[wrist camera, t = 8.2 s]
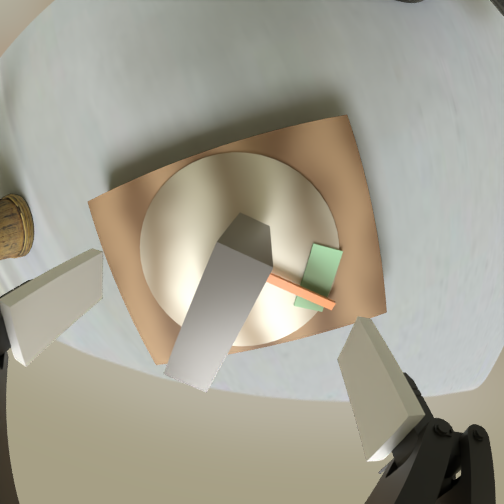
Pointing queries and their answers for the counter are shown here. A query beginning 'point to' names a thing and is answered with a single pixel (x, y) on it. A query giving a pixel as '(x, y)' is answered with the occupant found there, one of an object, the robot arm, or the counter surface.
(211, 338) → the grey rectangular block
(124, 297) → the board
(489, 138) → the counter surface
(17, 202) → the wooden mug
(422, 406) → the robot arm
